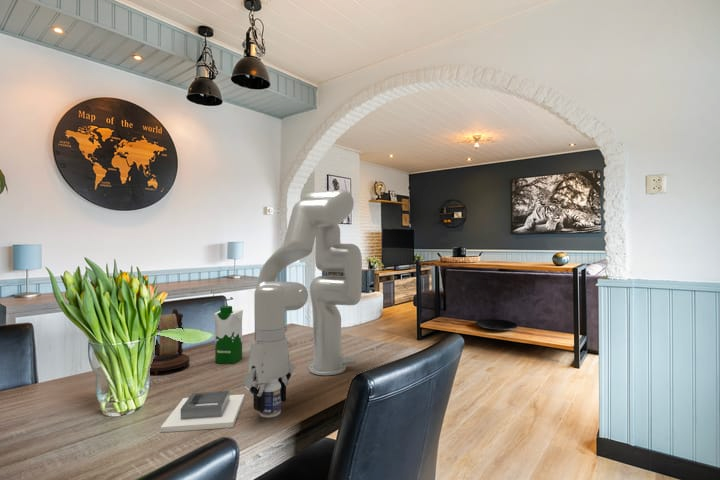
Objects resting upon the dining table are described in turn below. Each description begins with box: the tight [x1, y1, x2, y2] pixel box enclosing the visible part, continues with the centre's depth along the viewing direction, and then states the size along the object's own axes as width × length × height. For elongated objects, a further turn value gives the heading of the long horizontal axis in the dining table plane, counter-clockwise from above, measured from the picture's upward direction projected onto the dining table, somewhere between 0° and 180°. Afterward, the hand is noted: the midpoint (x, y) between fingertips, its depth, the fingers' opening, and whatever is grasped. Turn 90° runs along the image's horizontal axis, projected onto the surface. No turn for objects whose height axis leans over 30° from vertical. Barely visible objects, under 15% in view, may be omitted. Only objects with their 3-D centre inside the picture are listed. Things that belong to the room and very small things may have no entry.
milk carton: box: [213, 305, 244, 365], centre depth 137 cm, size 9×9×20 cm
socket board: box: [160, 393, 245, 433], centre depth 95 cm, size 16×16×1 cm
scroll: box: [149, 308, 191, 376], centre depth 129 cm, size 15×15×20 cm
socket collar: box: [181, 390, 231, 419], centre depth 95 cm, size 9×9×2 cm
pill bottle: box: [258, 379, 282, 418], centre depth 95 cm, size 5×5×10 cm
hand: (270, 404), depth 95 cm, fingers open, 6 cm apart
